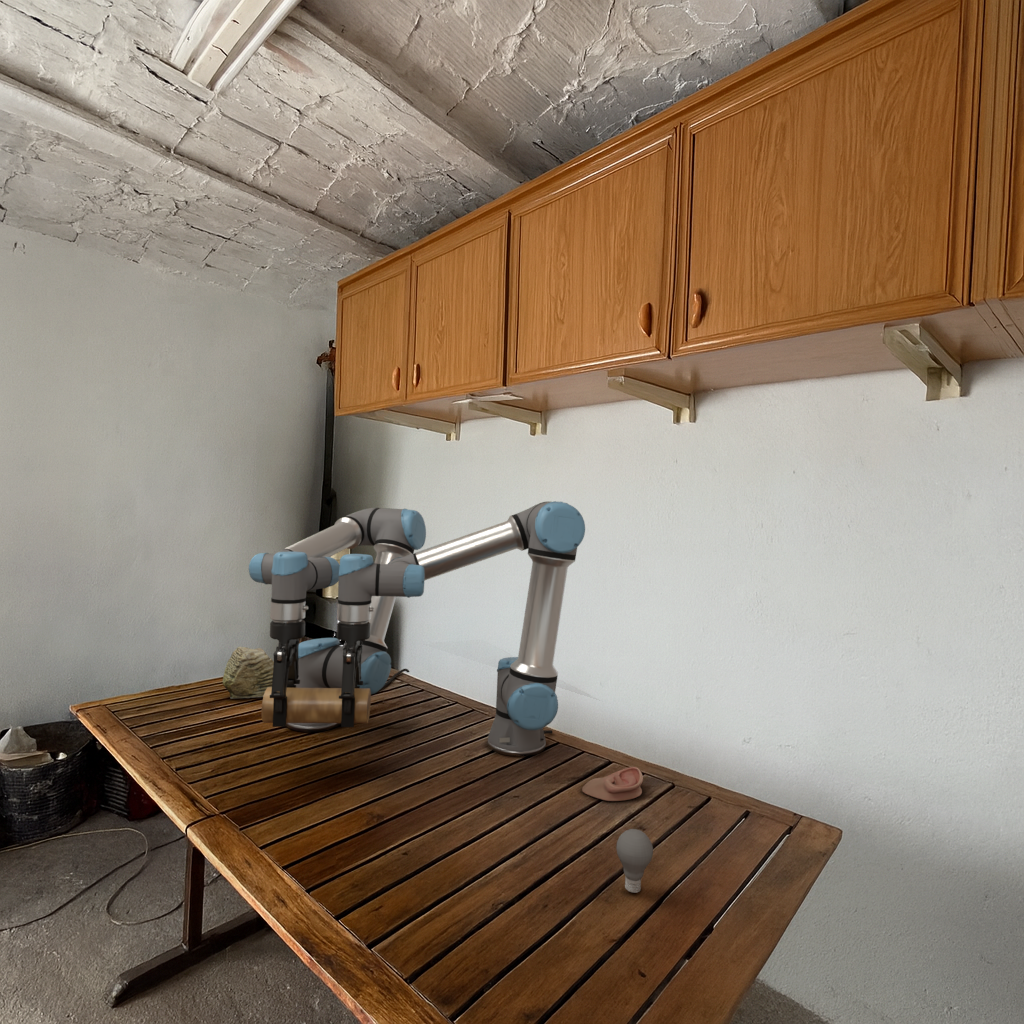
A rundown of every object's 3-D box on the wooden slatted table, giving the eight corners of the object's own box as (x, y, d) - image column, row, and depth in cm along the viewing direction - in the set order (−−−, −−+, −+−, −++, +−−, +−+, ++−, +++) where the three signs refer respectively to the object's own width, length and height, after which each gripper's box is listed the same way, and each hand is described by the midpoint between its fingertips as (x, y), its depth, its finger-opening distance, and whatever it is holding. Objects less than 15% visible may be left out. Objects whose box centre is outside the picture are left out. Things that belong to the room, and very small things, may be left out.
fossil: (218, 695, 195) (220, 647, 195) (278, 685, 208) (279, 640, 207) (228, 703, 189) (230, 653, 188) (289, 692, 201) (290, 645, 201)
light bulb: (610, 879, 108) (613, 822, 108) (644, 879, 109) (647, 822, 109) (619, 902, 102) (622, 840, 102) (655, 901, 103) (658, 840, 103)
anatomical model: (581, 779, 138) (585, 758, 149) (580, 797, 138) (585, 775, 149) (643, 787, 135) (643, 766, 147) (642, 806, 136) (642, 783, 147)
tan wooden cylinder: (260, 727, 140) (262, 693, 140) (270, 715, 148) (271, 683, 148) (366, 728, 143) (367, 694, 142) (370, 716, 150) (371, 684, 150)
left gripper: (294, 629, 134) (290, 736, 134) (314, 612, 155) (310, 704, 155) (257, 629, 133) (253, 736, 134) (282, 611, 154) (279, 704, 154)
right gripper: (365, 631, 136) (361, 736, 136) (375, 613, 156) (371, 705, 157) (329, 630, 135) (325, 736, 135) (344, 612, 155) (340, 705, 156)
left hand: (284, 719), depth 144 cm, fingers open, 8 cm apart
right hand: (350, 719), depth 146 cm, fingers closed on tan wooden cylinder, 8 cm apart
